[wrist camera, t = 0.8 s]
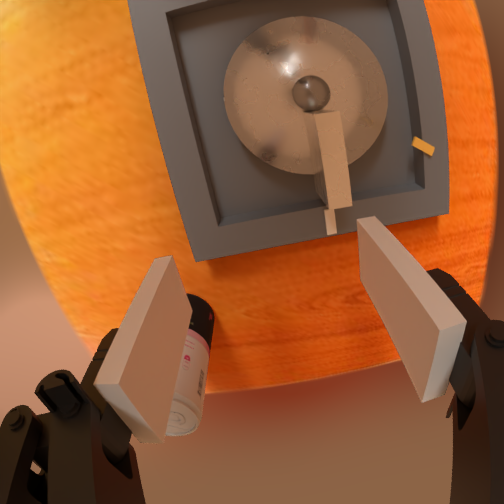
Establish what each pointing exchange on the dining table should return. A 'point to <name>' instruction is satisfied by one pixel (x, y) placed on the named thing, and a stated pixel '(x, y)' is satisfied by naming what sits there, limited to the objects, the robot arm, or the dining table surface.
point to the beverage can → (192, 371)
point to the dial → (307, 100)
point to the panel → (261, 173)
